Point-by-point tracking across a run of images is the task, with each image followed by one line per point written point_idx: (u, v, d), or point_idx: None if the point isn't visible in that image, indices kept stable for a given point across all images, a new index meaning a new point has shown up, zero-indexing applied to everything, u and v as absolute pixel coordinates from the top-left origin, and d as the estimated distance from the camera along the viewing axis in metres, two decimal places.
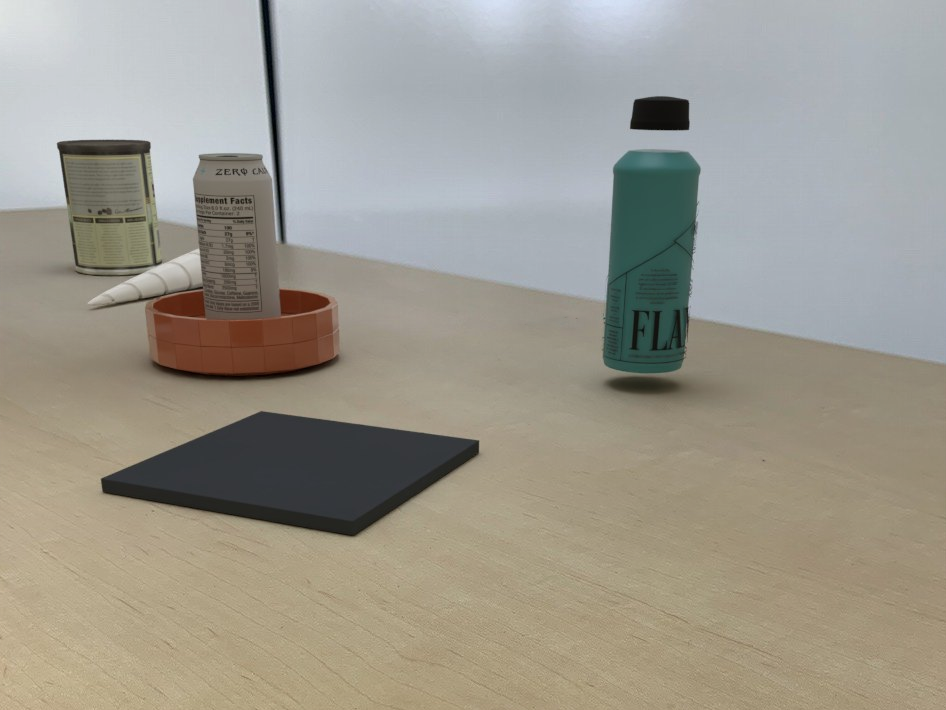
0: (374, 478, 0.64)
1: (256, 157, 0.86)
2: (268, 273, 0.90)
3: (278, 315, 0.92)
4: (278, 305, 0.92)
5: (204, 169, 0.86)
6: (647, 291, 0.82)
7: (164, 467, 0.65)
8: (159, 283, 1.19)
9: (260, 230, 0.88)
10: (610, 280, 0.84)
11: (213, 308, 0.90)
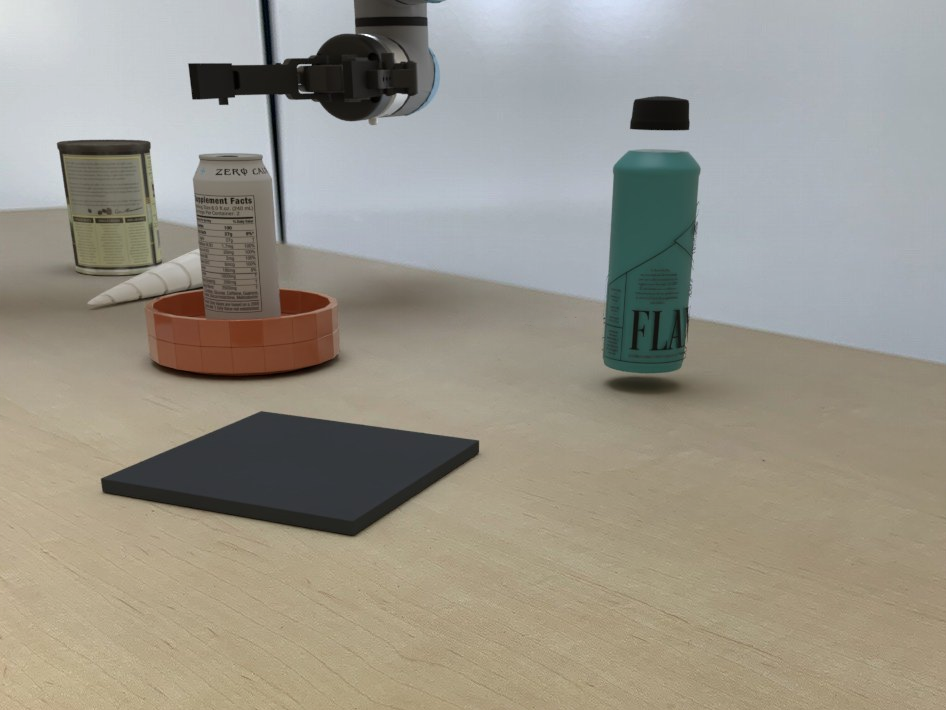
0: (374, 478, 0.64)
1: (256, 157, 0.86)
2: (268, 273, 0.90)
3: (278, 315, 0.92)
4: (278, 305, 0.92)
5: (204, 169, 0.86)
6: (647, 291, 0.82)
7: (164, 467, 0.65)
8: (159, 283, 1.19)
9: (260, 230, 0.88)
10: (610, 280, 0.84)
11: (213, 308, 0.90)
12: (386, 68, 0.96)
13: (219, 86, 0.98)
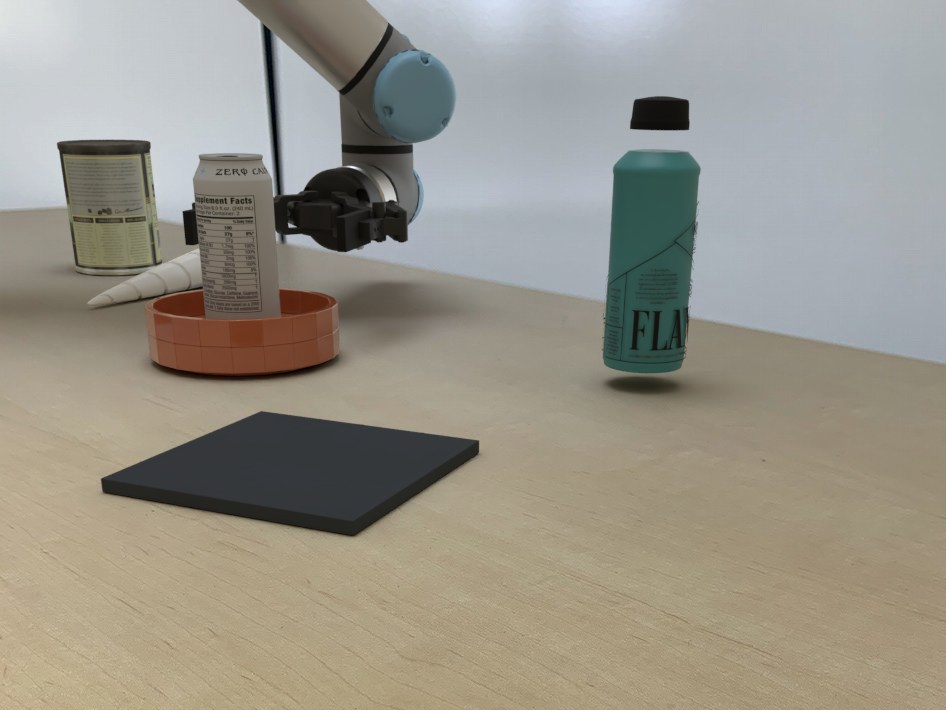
0: (374, 478, 0.64)
1: (256, 157, 0.86)
2: (268, 273, 0.90)
3: (278, 315, 0.92)
4: (278, 305, 0.92)
5: (204, 169, 0.86)
6: (647, 291, 0.82)
7: (164, 467, 0.65)
8: (159, 283, 1.19)
9: (260, 230, 0.88)
10: (610, 280, 0.84)
11: (213, 308, 0.90)
12: (377, 217, 0.98)
13: None
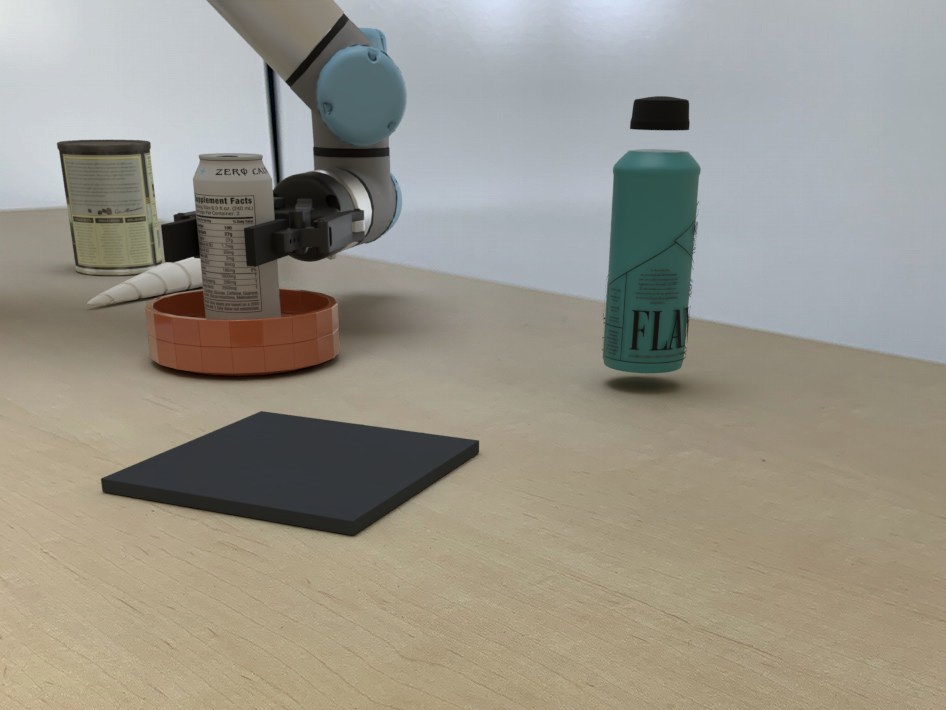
0: (374, 478, 0.64)
1: (256, 157, 0.86)
2: (268, 273, 0.90)
3: (278, 315, 0.92)
4: (278, 305, 0.92)
5: (204, 169, 0.86)
6: (647, 291, 0.82)
7: (164, 467, 0.65)
8: (159, 283, 1.19)
9: None
10: (610, 280, 0.84)
11: (213, 308, 0.90)
12: (292, 227, 0.90)
13: (194, 243, 0.90)
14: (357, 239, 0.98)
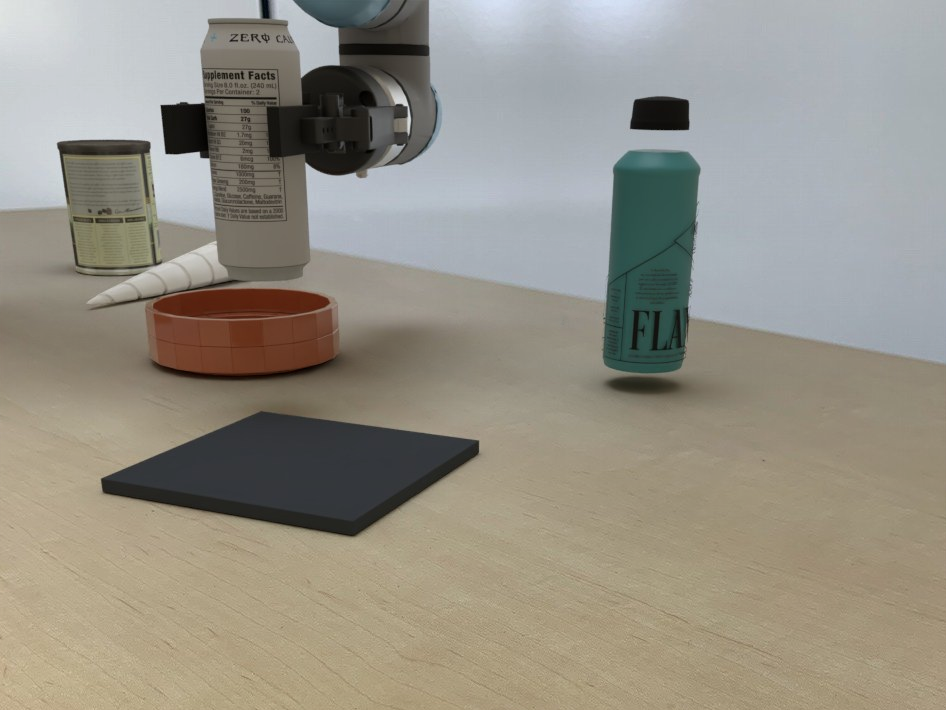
0: (374, 478, 0.64)
1: (280, 21, 0.68)
2: (294, 172, 0.72)
3: (306, 228, 0.74)
4: (306, 215, 0.74)
5: (215, 35, 0.68)
6: (647, 291, 0.82)
7: (164, 467, 0.65)
8: (158, 283, 1.19)
9: None
10: (610, 280, 0.84)
11: (225, 217, 0.72)
12: (324, 115, 0.72)
13: (202, 135, 0.71)
14: (399, 141, 0.80)
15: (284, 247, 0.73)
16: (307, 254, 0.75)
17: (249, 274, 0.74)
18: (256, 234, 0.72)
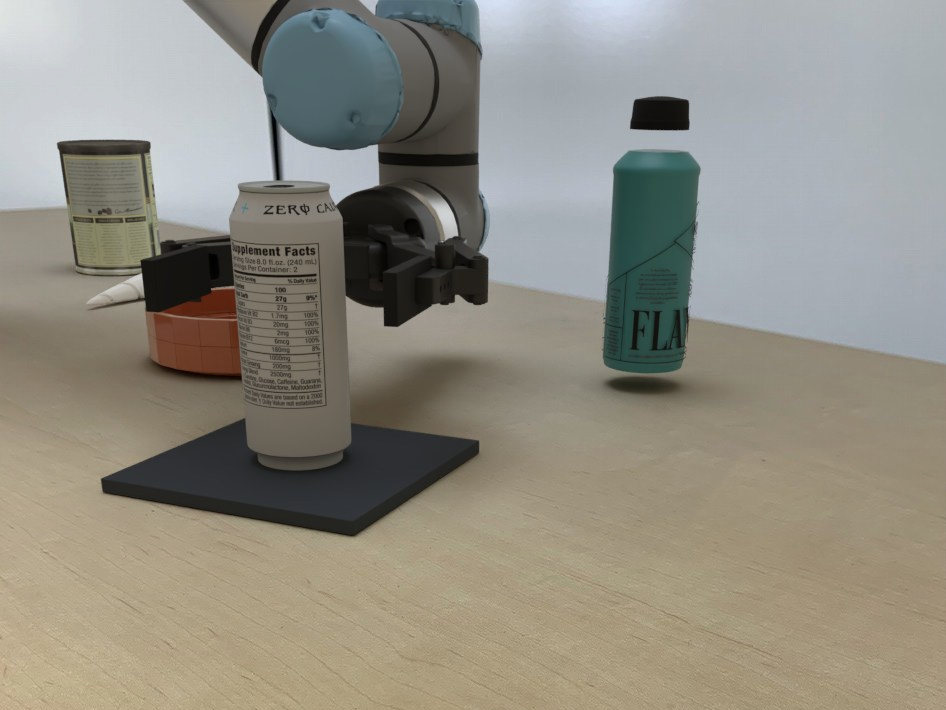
0: (374, 478, 0.64)
1: (322, 188, 0.59)
2: (335, 352, 0.63)
3: (347, 408, 0.65)
4: (347, 395, 0.65)
5: (246, 205, 0.59)
6: (647, 291, 0.82)
7: (164, 467, 0.65)
8: None
9: (327, 292, 0.61)
10: (610, 280, 0.84)
11: (257, 402, 0.63)
12: (442, 267, 0.64)
13: (188, 284, 0.65)
14: None
15: (323, 434, 0.64)
16: (348, 436, 0.66)
17: (283, 463, 0.65)
18: (292, 422, 0.63)
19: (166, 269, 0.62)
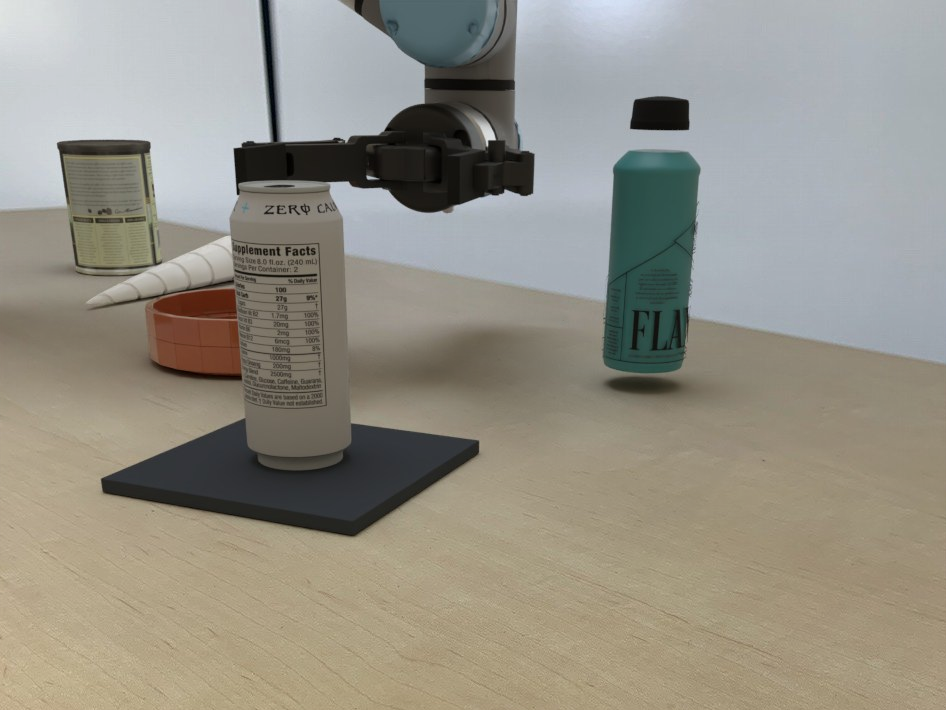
0: (374, 478, 0.64)
1: (322, 188, 0.59)
2: (335, 352, 0.63)
3: (347, 409, 0.65)
4: (348, 395, 0.65)
5: (247, 205, 0.59)
6: (647, 291, 0.82)
7: (164, 467, 0.65)
8: (158, 283, 1.19)
9: (327, 292, 0.61)
10: (610, 280, 0.84)
11: (257, 402, 0.63)
12: (494, 160, 0.73)
13: (270, 175, 0.74)
14: None
15: (323, 434, 0.64)
16: (348, 436, 0.66)
17: (283, 463, 0.65)
18: (292, 422, 0.63)
19: (254, 158, 0.71)
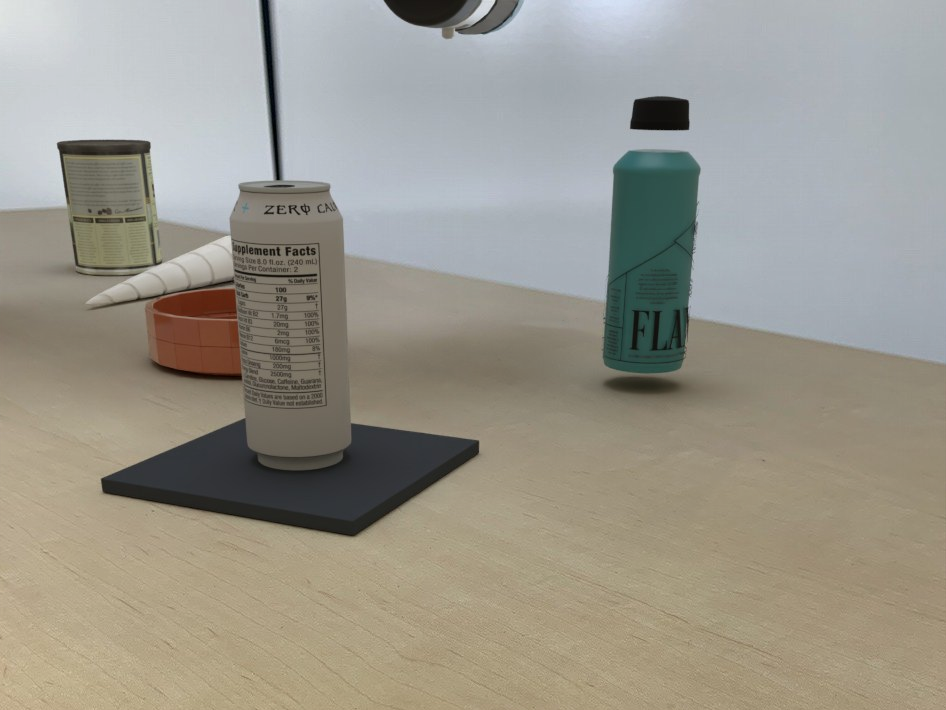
0: (374, 478, 0.64)
1: (322, 188, 0.59)
2: (336, 352, 0.63)
3: (347, 409, 0.65)
4: (348, 395, 0.65)
5: (247, 205, 0.59)
6: (647, 291, 0.82)
7: (164, 467, 0.65)
8: (158, 283, 1.19)
9: (327, 292, 0.61)
10: (610, 280, 0.84)
11: (257, 402, 0.63)
12: None
13: None
14: None
15: (323, 434, 0.64)
16: (348, 436, 0.66)
17: (283, 463, 0.65)
18: (292, 422, 0.63)
19: None
